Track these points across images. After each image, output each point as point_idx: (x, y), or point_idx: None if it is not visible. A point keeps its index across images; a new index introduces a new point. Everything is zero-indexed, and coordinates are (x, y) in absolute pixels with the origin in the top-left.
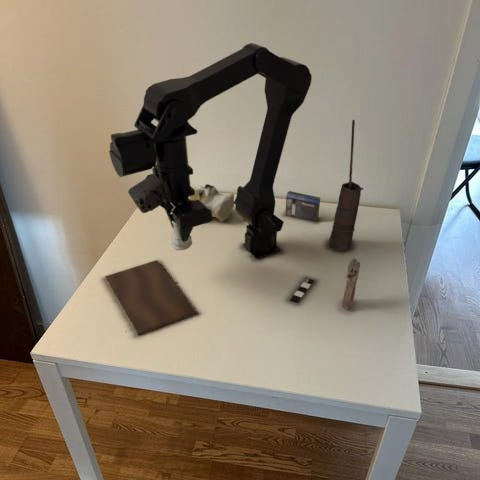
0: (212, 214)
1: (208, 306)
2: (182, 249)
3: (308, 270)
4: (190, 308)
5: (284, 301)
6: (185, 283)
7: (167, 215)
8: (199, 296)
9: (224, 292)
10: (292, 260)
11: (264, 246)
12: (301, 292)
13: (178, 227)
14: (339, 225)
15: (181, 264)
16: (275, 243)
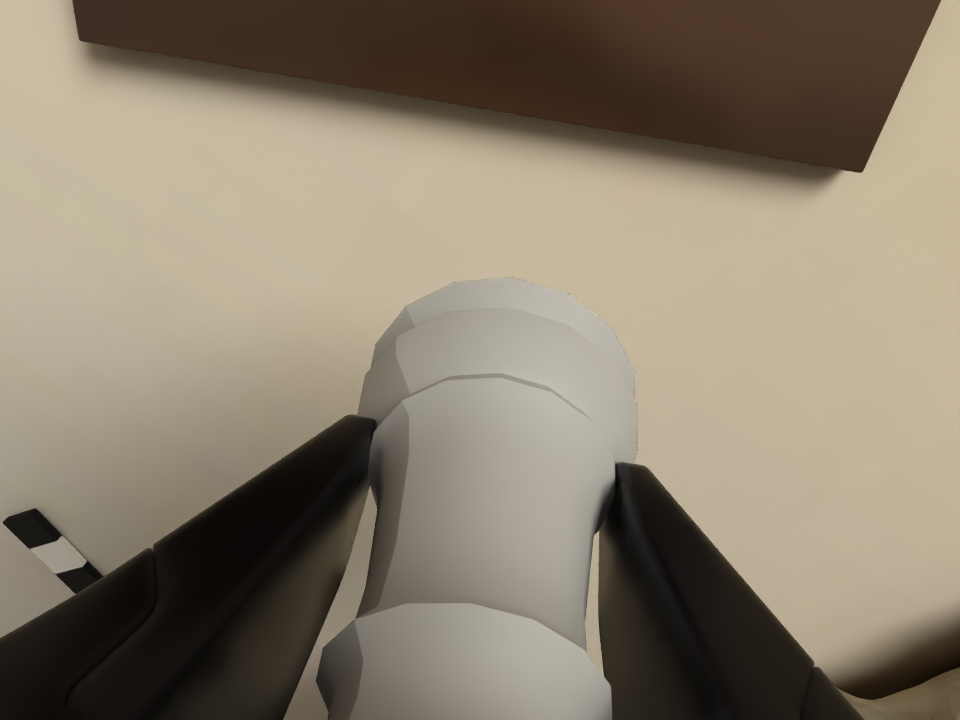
0: (895, 711)
1: (145, 170)
2: (386, 341)
3: None
4: (120, 30)
5: (40, 489)
6: (460, 192)
7: (832, 702)
8: (272, 185)
9: (234, 329)
10: (306, 671)
11: None
12: (62, 569)
13: (147, 601)
14: None
15: (674, 298)
16: None
